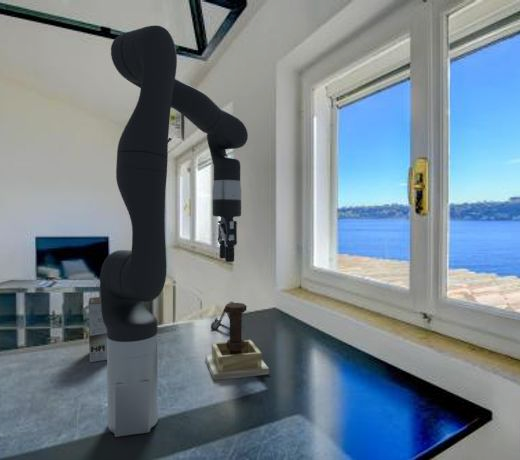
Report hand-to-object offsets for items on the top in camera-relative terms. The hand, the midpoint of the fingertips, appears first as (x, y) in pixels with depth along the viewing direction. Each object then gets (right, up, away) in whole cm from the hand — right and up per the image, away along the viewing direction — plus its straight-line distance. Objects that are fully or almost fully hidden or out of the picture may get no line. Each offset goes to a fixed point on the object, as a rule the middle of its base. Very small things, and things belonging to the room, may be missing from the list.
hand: (226, 260), depth 103 cm
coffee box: (-36, -28, +8) cm, 46 cm away
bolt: (+2, -27, 0) cm, 27 cm away
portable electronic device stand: (-4, -27, +37) cm, 46 cm away
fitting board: (+2, -28, 0) cm, 28 cm away
